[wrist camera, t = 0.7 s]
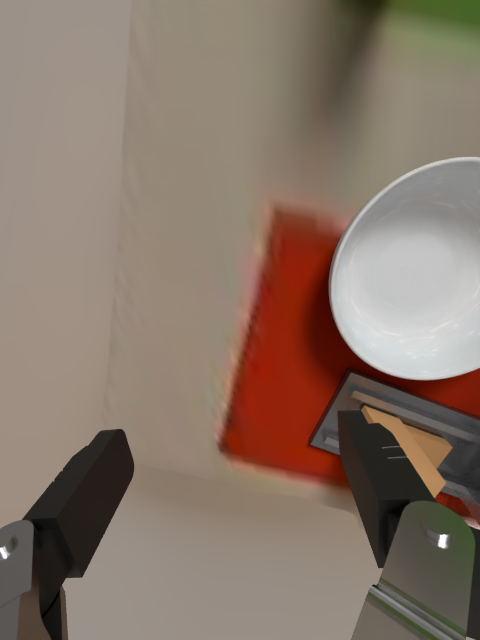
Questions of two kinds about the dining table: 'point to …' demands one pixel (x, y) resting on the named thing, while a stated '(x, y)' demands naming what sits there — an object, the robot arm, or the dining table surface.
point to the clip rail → (421, 413)
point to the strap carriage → (415, 447)
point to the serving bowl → (414, 274)
